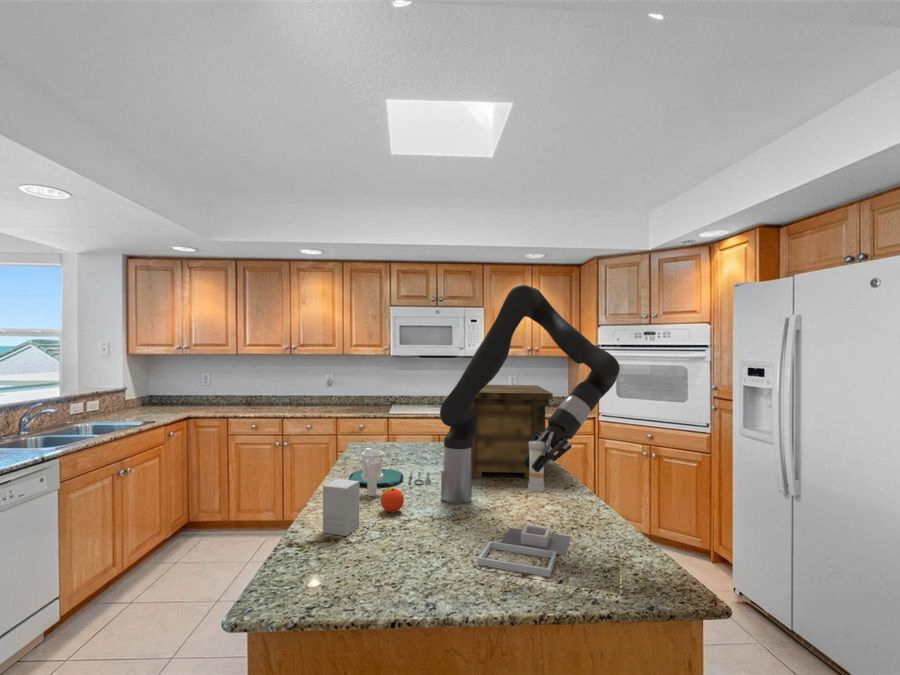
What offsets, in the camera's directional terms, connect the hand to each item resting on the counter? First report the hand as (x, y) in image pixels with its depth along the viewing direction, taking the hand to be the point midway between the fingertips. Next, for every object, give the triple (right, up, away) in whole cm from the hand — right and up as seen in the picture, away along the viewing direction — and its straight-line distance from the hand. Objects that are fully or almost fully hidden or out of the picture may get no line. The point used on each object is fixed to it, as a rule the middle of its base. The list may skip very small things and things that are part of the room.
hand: (530, 467), depth 122 cm
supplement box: (-50, -20, +9) cm, 54 cm away
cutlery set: (-42, -21, +57) cm, 74 cm away
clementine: (-38, -20, +24) cm, 49 cm away
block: (+2, -20, +1) cm, 20 cm away
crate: (0, -21, +75) cm, 78 cm away
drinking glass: (-46, -20, +40) cm, 64 cm away
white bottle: (+2, -6, +1) cm, 6 cm away
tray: (-5, -20, -11) cm, 23 cm away
